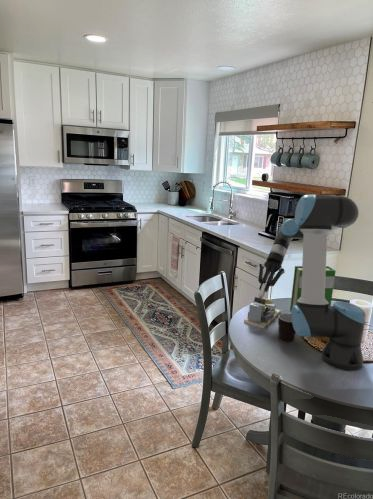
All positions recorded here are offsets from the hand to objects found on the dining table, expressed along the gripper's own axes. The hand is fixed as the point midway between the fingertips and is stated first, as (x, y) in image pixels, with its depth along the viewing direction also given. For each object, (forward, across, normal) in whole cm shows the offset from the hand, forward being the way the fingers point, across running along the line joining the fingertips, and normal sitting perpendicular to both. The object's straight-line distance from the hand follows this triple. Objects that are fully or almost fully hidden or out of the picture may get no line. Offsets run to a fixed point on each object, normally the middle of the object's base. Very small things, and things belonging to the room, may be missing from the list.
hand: (260, 296), depth 181 cm
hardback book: (-9, -17, -27) cm, 33 cm away
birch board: (+5, 0, -13) cm, 14 cm away
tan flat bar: (-4, 0, -13) cm, 13 cm away
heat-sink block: (+5, 0, -11) cm, 12 cm away
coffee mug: (+14, -17, -4) cm, 23 cm away
